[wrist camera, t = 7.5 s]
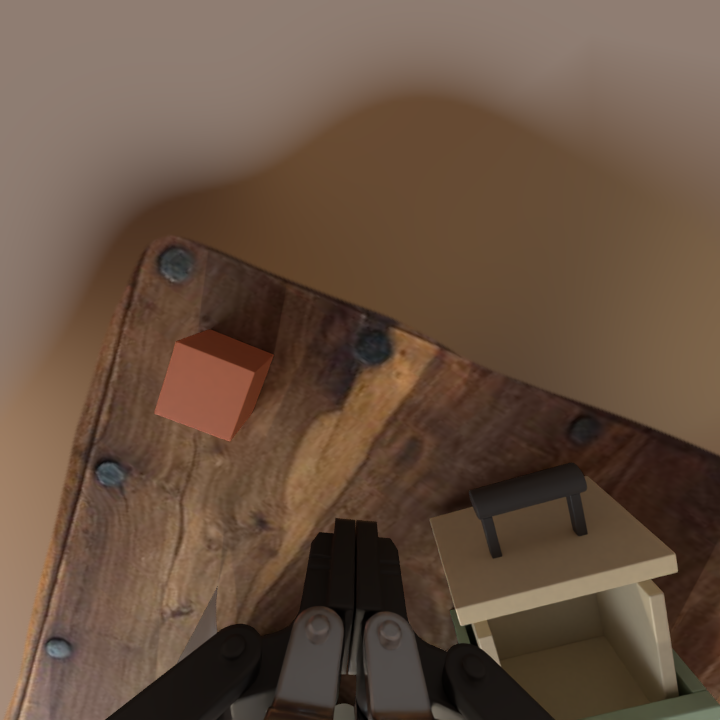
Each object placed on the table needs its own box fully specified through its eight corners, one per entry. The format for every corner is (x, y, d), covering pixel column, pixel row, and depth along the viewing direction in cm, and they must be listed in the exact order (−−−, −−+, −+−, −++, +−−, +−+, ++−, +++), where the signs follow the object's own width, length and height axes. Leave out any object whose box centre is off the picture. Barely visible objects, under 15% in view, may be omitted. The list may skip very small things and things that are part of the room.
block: (209, 328, 24) (175, 340, 19) (274, 354, 24) (255, 372, 20) (190, 389, 25) (153, 413, 20) (252, 413, 25) (229, 442, 21)
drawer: (412, 464, 25) (433, 540, 18) (576, 418, 24) (666, 478, 17) (472, 658, 29) (509, 783, 22) (615, 624, 28) (701, 742, 21)
